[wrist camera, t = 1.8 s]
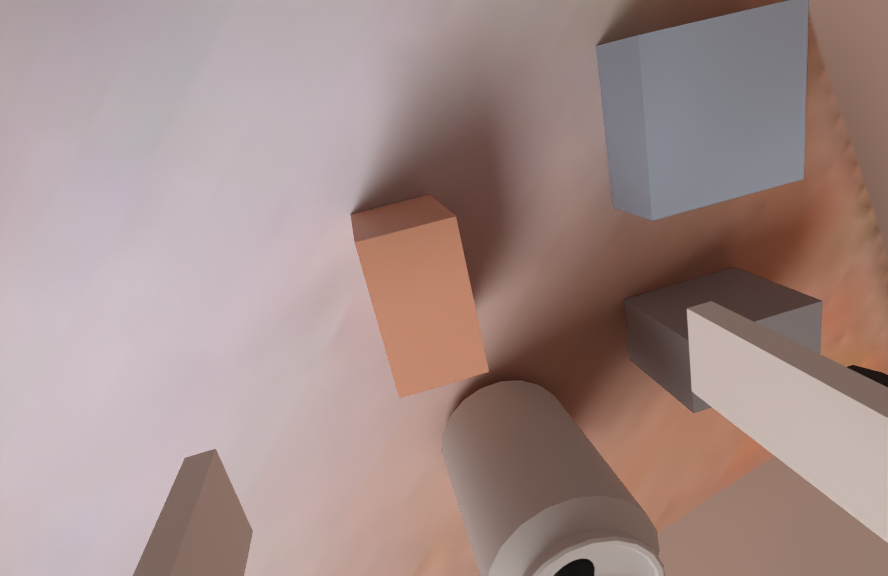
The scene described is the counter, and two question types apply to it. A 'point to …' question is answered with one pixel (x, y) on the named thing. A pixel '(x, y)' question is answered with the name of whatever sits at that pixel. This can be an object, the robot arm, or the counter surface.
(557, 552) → the can
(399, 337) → the terracotta brick
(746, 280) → the charcoal brick
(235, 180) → the counter surface
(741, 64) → the slate blue brick
